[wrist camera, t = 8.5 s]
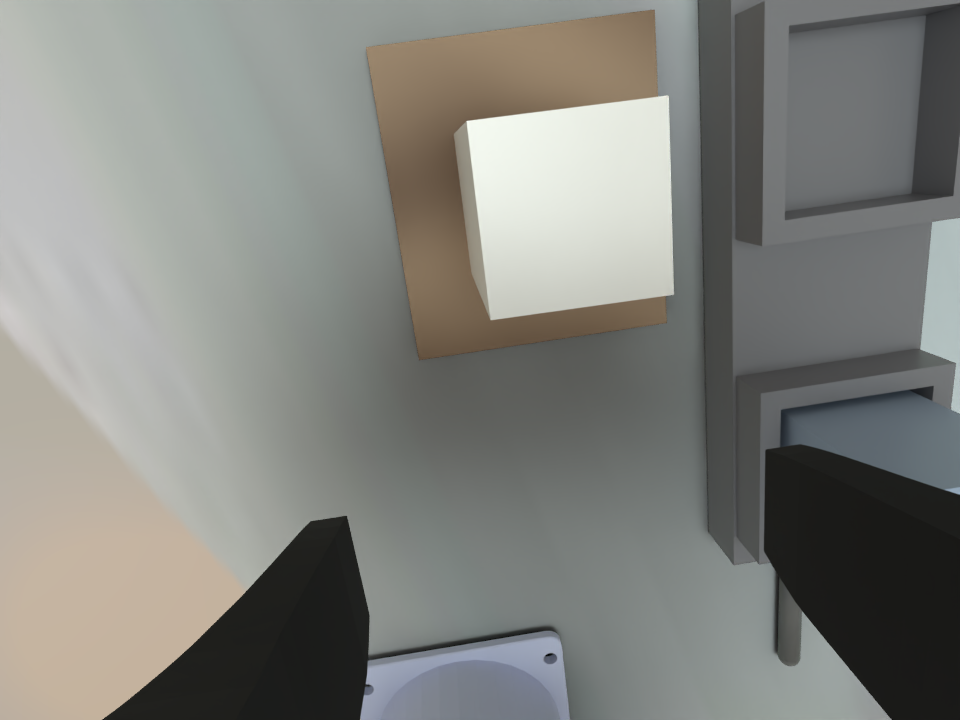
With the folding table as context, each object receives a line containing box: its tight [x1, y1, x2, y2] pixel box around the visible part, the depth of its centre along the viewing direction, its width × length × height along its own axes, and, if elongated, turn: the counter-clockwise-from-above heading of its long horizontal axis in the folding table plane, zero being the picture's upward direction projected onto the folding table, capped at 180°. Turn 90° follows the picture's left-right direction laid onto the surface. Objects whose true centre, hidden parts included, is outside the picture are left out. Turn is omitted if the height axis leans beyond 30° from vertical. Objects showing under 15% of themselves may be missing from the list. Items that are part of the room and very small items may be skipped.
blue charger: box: [780, 390, 960, 495], centre depth 17 cm, size 4×4×6 cm
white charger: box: [454, 95, 674, 320], centre depth 16 cm, size 4×4×6 cm
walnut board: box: [366, 10, 667, 360], centre depth 19 cm, size 9×8×1 cm
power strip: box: [698, 0, 960, 666], centre depth 20 cm, size 24×6×4 cm, turn 7°
